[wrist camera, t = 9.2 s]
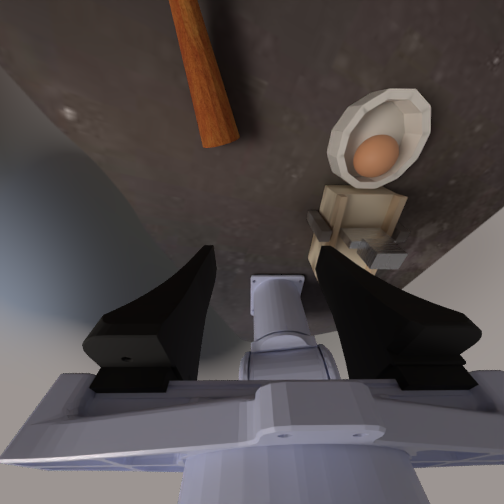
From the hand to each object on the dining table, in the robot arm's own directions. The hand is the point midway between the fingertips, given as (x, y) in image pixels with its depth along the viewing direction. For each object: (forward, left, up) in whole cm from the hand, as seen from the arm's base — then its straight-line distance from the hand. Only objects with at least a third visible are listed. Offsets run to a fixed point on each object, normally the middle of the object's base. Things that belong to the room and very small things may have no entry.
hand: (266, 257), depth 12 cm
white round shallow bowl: (+6, -10, -10) cm, 16 cm away
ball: (+5, -10, -8) cm, 14 cm away
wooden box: (-3, -10, -10) cm, 15 cm away
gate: (-2, -10, -7) cm, 12 cm away
